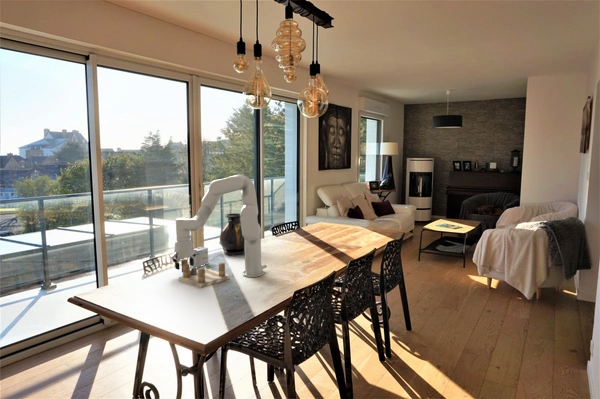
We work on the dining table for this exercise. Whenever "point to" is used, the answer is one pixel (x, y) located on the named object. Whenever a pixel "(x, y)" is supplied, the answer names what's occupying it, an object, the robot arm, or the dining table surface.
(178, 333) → the dining table surface
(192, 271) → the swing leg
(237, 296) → the dining table surface
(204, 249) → the light bulb box
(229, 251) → the amphora vase
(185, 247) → the robot arm
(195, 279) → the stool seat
